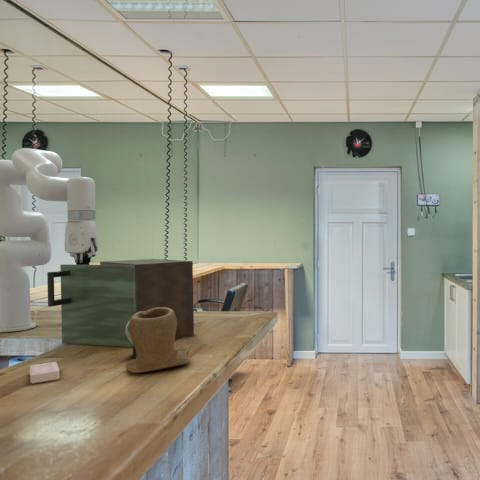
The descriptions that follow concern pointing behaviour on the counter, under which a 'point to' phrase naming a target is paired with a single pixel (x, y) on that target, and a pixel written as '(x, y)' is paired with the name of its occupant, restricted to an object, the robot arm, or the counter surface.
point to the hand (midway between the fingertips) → (82, 275)
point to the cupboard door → (95, 303)
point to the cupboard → (165, 289)
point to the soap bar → (44, 372)
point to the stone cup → (155, 341)
